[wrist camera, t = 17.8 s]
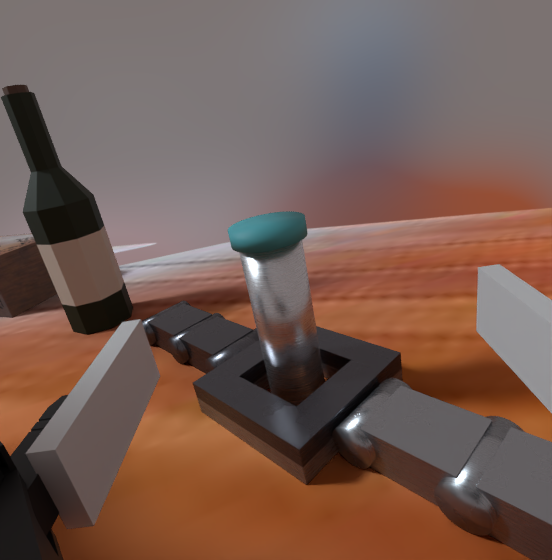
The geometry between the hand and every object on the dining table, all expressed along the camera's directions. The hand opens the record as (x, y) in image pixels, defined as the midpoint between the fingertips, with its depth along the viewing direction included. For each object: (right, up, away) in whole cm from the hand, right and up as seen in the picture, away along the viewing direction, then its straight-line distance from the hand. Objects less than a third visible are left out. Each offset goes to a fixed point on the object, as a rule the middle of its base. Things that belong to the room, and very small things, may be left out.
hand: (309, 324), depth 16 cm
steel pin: (+1, -8, +18) cm, 19 cm away
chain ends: (+1, -8, +18) cm, 19 cm away
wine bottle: (-26, -4, +41) cm, 48 cm away
